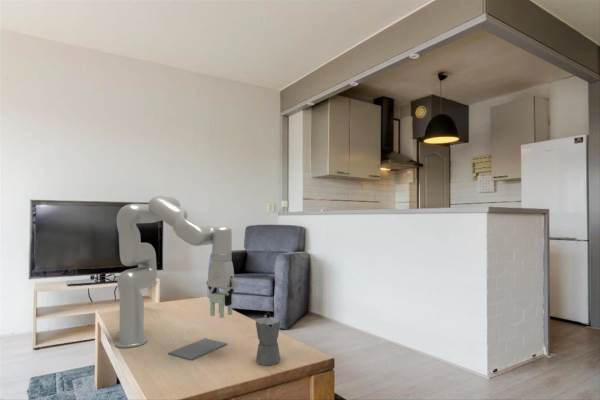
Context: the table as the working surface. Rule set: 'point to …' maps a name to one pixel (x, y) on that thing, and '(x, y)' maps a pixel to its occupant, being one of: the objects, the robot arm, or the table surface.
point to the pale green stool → (219, 298)
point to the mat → (197, 349)
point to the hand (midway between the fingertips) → (221, 303)
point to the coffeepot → (268, 340)
